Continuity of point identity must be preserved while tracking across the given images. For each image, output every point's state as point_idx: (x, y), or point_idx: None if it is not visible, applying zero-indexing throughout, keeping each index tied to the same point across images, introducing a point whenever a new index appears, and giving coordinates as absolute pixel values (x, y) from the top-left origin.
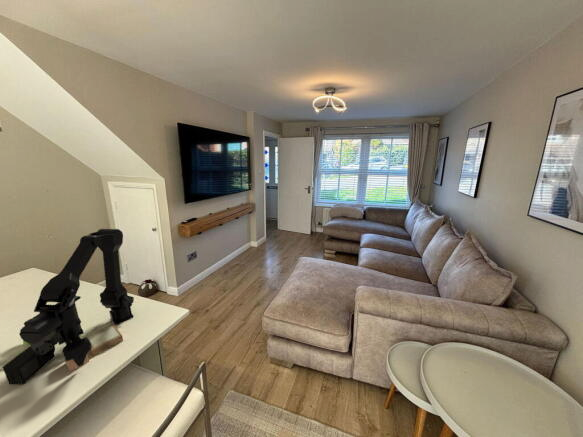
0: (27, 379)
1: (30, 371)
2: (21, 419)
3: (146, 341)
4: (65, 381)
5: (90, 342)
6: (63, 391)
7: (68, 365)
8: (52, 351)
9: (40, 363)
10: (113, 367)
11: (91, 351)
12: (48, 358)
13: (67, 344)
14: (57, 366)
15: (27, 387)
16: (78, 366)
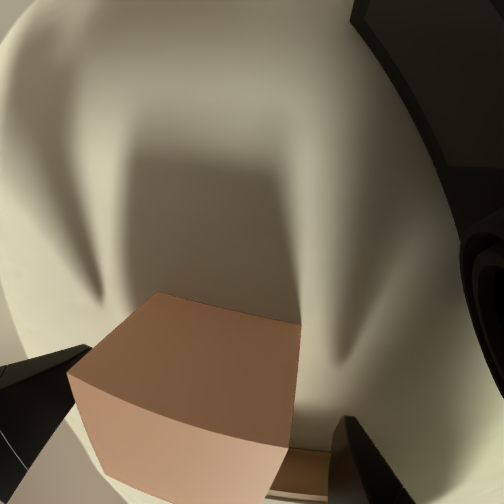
0: (375, 47)
1: (416, 65)
2: (40, 22)
3: (115, 487)
4: (82, 229)
5: (278, 497)
6: (29, 193)
7: (119, 325)
8: (493, 349)
9: (472, 187)
10: None
11: None
12: (462, 271)
13: (361, 497)
14: (328, 267)
15: (271, 26)
16: (80, 345)
